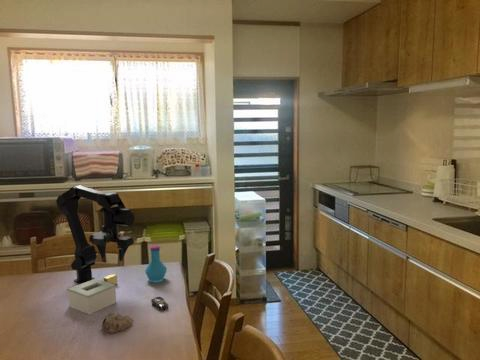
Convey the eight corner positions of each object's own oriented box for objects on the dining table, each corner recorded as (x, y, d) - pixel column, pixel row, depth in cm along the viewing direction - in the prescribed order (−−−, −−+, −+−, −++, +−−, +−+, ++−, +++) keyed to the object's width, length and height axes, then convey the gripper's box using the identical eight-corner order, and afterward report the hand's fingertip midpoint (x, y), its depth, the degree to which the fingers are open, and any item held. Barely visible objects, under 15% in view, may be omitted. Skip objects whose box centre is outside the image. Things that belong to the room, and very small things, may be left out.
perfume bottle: (169, 275, 179) (168, 243, 178) (163, 283, 170) (162, 249, 168) (149, 275, 180) (148, 243, 178) (142, 283, 171) (141, 249, 169)
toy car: (160, 312, 144) (159, 291, 143) (145, 301, 154) (144, 281, 153) (169, 309, 147) (168, 288, 146) (155, 298, 156) (154, 279, 155)
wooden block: (103, 286, 168) (103, 277, 168) (113, 282, 172) (113, 273, 172) (107, 287, 167) (107, 278, 166) (117, 283, 171) (116, 274, 171)
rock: (102, 337, 127) (133, 327, 130) (97, 319, 128) (129, 309, 130) (104, 331, 136) (134, 321, 138) (100, 314, 136) (130, 305, 139)
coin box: (69, 306, 149) (68, 288, 148) (96, 295, 159) (95, 278, 158) (89, 314, 143) (87, 295, 142) (116, 302, 153) (115, 284, 152)
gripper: (78, 225, 160) (80, 262, 162) (116, 230, 153) (117, 269, 155) (98, 219, 170) (99, 254, 172) (134, 223, 163) (134, 260, 165)
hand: (111, 259), depth 166 cm, fingers open, 9 cm apart
